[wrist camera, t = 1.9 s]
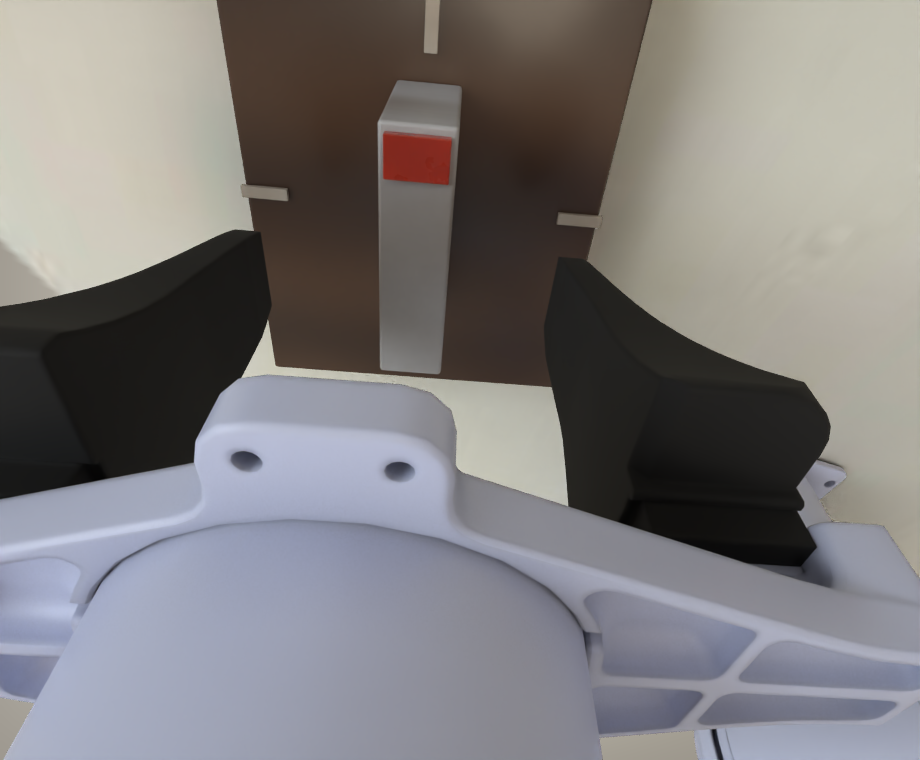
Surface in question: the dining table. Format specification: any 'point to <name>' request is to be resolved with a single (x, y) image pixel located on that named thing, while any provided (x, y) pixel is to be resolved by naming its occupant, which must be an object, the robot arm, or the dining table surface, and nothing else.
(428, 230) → the tap handle
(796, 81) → the dining table surface
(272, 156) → the block
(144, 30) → the dining table surface
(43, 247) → the dining table surface
